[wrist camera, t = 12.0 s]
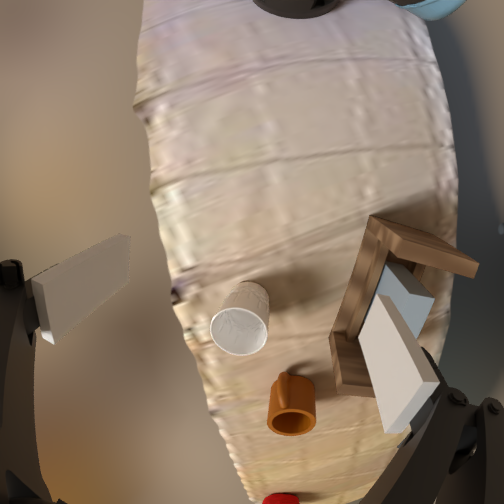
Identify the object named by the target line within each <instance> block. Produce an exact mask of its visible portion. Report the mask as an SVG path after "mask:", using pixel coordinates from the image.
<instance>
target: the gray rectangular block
mask: <svg viewBox="0 0 504 504" xmlns="http://www.w3.org/2000/svg"><path fill="white" fill-rule="evenodd" d="M376 294H381V295H386V296H389V297H390V298H391V300H392V301H393V303H394V304H395V306H396V307H397V309H398V311H399V312H400V314H401V315H402V317H403V319H404V320H405V322H406V323H407V325H408V327H409V328H410V330H411V332H412V333H413V335H414V337H415V338H416V340H417V337H418V335H419V333H420V331H421V329H422V327H423V325H424V323H425V321H426V318H427V316H428V314H429V312H430V309H431V307H432V305H433V302H434V300H435V298H434V297H433V296H432V295H431V294H430V293H429V291H428V290H427V289H426V288H425V287H424V286H423V285H422V284H421V283H420V282H419V281H418V280H417V279H416V278H415V277H414V276H413V274H412V273H411V272H410V271H409V270H408V269H407V268H406V267H405V266H404V265H401V264H397V263H392V262H388V261H385V263H384V266H383V269H382V272H381V275H380V278H379V280H378V283H377V286H376V288H375V291H374V294H373V296H372V299H371V302H370V304H369V307H368V309H367V312H366V314H365V316H364V321H366V319H367V316H368V314H369V311H370V309H371V306H372V304H373V301H374V299H375V296H376Z"/></svg>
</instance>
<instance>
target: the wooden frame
mask: <svg viewBox="0 0 504 504" xmlns="http://www.w3.org/2000/svg"><path fill="white" fill-rule="evenodd" d="M385 261H388V262H392V263H397V264H401V265H404V266H405V267H406V268H407V269H408V270H409V271H410V272H411V273H412V274H413V276H414V277H415V278H416V279H417V280H418V281H419V282H420V279H421V277H422V274H423V272H424V269H425V266H426V265H428V266H431V267H435V268H438V269H442V270H445V271H449V272H452V273H456V274H459V275H463V276H466V277H470V278H474V277H475V274H476V271H477V269H478V266H479V263H478V262H476V261H475V260H473V259H472V258H470V257H468V256H467V255H465V254H464V253H462V252H461V251H459V250H458V249H456V248H454V247H453V246H451V245H449V244H448V243H446V242H445V241H443V240H441V239H440V238H438V237H436V236H434V235H433V234H430V233H427V232H423V231H420V230H417V229H414V228H411V227H408V226H404V225H401V224H398V223H395V222H391V221H388V220H385V219H381V218H378V217H374V216H371V215H369V219H368V223H367V226H366V230H365V233H364V237H363V240H362V243H361V247H360V250H359V253H358V257H357V260H356V263H355V266H354V269H353V272H352V275H351V278H350V281H349V284H348V287H347V290H346V293H345V296H344V298H343V301H342V304H341V307H340V309H339V312H338V315H337V317H336V320H335V323H334V325H333V328H332V330H331V333H330V335H329V343H330V349H331V355H332V362H333V369H334V375H335V382H336V390H337V394H342V395H351V396H361V397H373V398H376V396H375V393H374V389H373V385H372V382H371V378H370V375H369V371H368V368H367V365H366V361H365V358H364V355H363V351H362V348H361V345H360V342H359V339H358V337H359V335H360V332H361V330H362V328H363V326H364V323H365V321H364V316H365V314H366V312H367V309H368V307H369V304H370V302H371V299H372V296H373V294H374V291H375V288H376V286H377V283H378V280H379V278H380V275H381V272H382V269H383V266H384V263H385Z"/></svg>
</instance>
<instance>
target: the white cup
mask: <svg viewBox="0 0 504 504" xmlns="http://www.w3.org/2000/svg"><path fill="white" fill-rule="evenodd" d="M268 326H269V296H268V294H267V292H266V290H265V289H264V288H263V287H262V286H260V285H259V284H257V283H253V282H250V281H248V282H241V283H239V284H237V285H236V286H234V287H233V288H232V290H231V292H230V293H229V294H228V295H227V296H226V298H225V299H224V301H223V303H222V304H221V306H220V307H219V309H218V311H217V312H216V314H215V316H214V317H213V319H212V321H211V324H210V333H211V336H212V338H213V340H214V342H215V343H216V344H217V345H218V346H219V347H220V348H221V349H223V350H224V351H226V352H228V353H231V354H234V355H240V356H244V355H251V354H254V353H256V352H258V351H259V350H261V349H262V348H263V346H264V345H265V343H266V341H267V338H268Z"/></svg>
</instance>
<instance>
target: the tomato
mask: <svg viewBox="0 0 504 504" xmlns="http://www.w3.org/2000/svg"><path fill="white" fill-rule="evenodd" d="M262 504H300V503H299V499H298V497H296V496H294V495H291V494H272V495H270V496H268V497H266V498H265V499H264V500H263V503H262Z"/></svg>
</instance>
